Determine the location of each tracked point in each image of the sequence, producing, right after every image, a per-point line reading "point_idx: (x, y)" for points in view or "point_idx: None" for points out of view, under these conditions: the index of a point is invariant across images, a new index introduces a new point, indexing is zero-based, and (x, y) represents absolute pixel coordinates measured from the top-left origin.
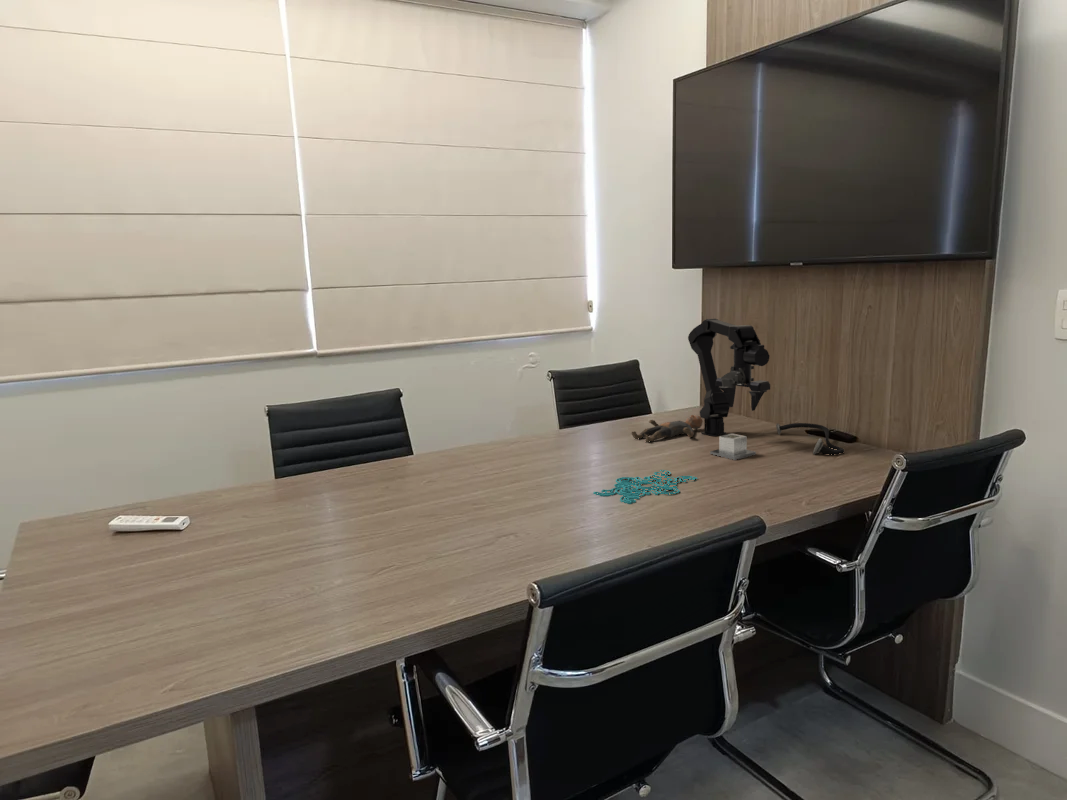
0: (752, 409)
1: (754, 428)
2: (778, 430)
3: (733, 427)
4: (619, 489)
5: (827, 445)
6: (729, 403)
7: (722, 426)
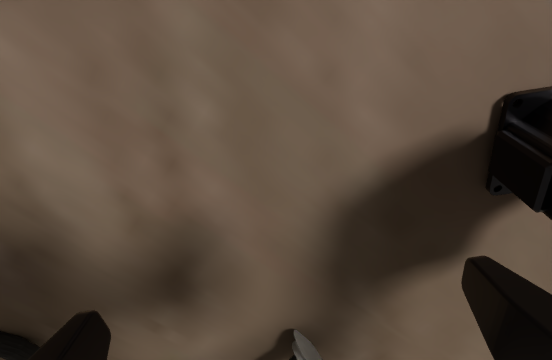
0: (67, 323)
1: (444, 328)
2: (296, 346)
3: None
4: None
5: (18, 342)
6: (523, 291)
7: (519, 182)
